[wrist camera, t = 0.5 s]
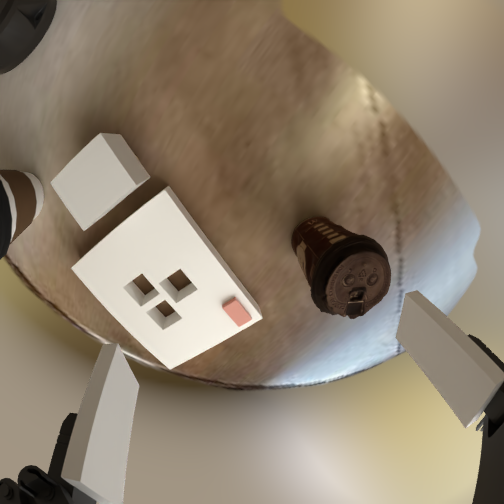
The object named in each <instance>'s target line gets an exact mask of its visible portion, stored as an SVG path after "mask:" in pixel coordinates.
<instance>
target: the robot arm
mask: <svg viewBox="0 0 504 504" xmlns="http://www.w3.org/2000/svg"><path fill="white" fill-rule="evenodd" d="M55 10H56V0H0V74H3V73H6V72H8V71H10V70H12V69H13V68H15V67H16V66H18V65H19V64H20V63H21V62H22V61H23V60H24V59H25V58H27V56H28V55H29V54H30V53H31V52H32V51H33V50H34V49H35V47H36V46H37V45H38V43H39V42H40V41H41V39H42V38H43V36H44V35H45V33H46V31H47V30H48V28H49V26H50V24H51V22H52V19H53V16H54V13H55ZM396 339H397V340H398V341H399V342H400V344H401V345H402V346H403V347H404V349H405V350H406V351H407V352H408V353H409V355H410V356H411V357H412V358H413V359H414V361H415V362H416V363H417V365H418V366H419V367H420V368H421V370H422V371H423V372H424V373H425V375H426V376H427V377H428V378H429V380H430V381H431V382H432V384H433V385H434V386H435V388H436V389H437V390H438V392H439V393H440V394H441V396H442V397H443V398H444V400H445V401H446V402H447V403H448V405H449V406H450V408H451V409H452V410H453V412H454V413H455V414H456V416H457V417H458V418H459V420H460V421H461V423H462V424H463V426H464V427H465V428H466V427H468V426H469V425H471V424H472V423H473V422H475V421H476V420H477V419H478V418H479V417H480V415H481V414H482V413H483V411H484V412H485V414H486V415H485V417H484V418H483V419H482V420H481V421H480V423H479V424H478V425H477V427H476V431H478V430H479V428H480V427H481V426H482V425H483V427H482V429H481V431H483V437H482V450H481V458H480V466H479V472H478V479H477V484H476V489H475V494H474V498H473V503H472V504H504V363H503V362H502V361H501V360H500V359H499V358H498V357H497V356H496V355H495V354H494V353H492V351H491V350H490V349H489V348H487V347H486V345H485V344H484V343H482V342H481V340H479V339H478V338H476V337H474V336H472V335H470V334H469V335H466V334H465V333H464V332H463V331H462V330H461V329H460V328H459V327H458V326H456V324H454V323H453V322H452V321H451V320H450V319H449V318H448V317H447V316H446V315H445V314H444V313H443V312H441V311H440V310H439V309H438V308H437V307H436V306H435V305H434V304H432V303H431V302H430V301H429V300H428V299H427V298H426V297H424V296H423V295H422V294H421V293H420V292H419V291H417V290H416V291H413V292H409V293H406V294H405V298H404V303H403V308H402V313H401V317H400V322H399V326H398V330H397V334H396ZM138 389H139V384H138V382H137V380H136V379H135V377H134V375H133V373H132V371H131V369H130V367H129V365H128V363H127V361H126V359H125V357H124V355H123V353H122V351H121V348H120V346H119V344H118V343H117V344H103V346H102V349H101V351H100V354H99V356H98V359H97V361H96V364H95V366H94V369H93V372H92V375H91V377H90V380H89V382H88V385H87V388H86V391H85V394H84V397H83V400H82V403H81V406H80V409H79V412H78V414H76V413H70V414H69V415H68V416H67V417H66V419H65V420H64V421H63V423H62V426H61V429H60V435H59V436H58V439H57V444H56V445H55V449H54V452H53V456H52V459H51V464H50V467H49V471H48V474H46V473H45V472H44V471H42V470H41V469H40V468H38V467H37V466H32V465H30V466H26V467H24V468H23V469H22V470H21V471H20V473H19V475H18V484H17V483H16V482H14V481H13V480H11V479H10V478H4V479H1V480H0V504H96V501H97V502H99V503H100V504H123V496H124V484H125V475H126V466H127V457H128V450H129V442H130V436H131V429H132V423H133V417H134V411H135V405H136V400H137V394H138Z"/></svg>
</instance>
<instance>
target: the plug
mask: <svg viewBox="0 0 504 504" xmlns="http://www.w3.org/2000/svg"><path fill="white" fill-rule="evenodd" d="M149 178H150V176H149V174H148V173H147V171H146V170H145V169H144V167H143V166H142V164H141V163H140V162H139V158H138V157H137V156H136V155H135V154H134V153H133V152H132V150H131V149H130V147H129V146H128V144H127V143H126V141H125V140H124V139H123V137H122V136H121V134H109V133H99V134H98V135H97V136H96V137H95V138H94V139H93V140H92V141H91V142H90V143H89V144H87V145H86V146H85V147H84V148H83V149H82V150H81V151H80V152H79V153H78V154H77V155H76V156H75V157H74V158H73V159H72V160H71V161H70V162H69V163H68V164H67V165H66V166H65V167H64V168H63V170H62V171H61V172H60V173H59V174H58V175H57V176H56V177H55V178H54V179H53V180H52V182H51V185H52V186H53V188H54V189H55V191H56V192H57V194H58V195H59V197H60V198H61V200H62V201H63V203H64V204H65V206H66V207H67V209H68V210H69V211H70V213H71V214H72V216H73V217H74V218H75V220H76V221H77V223H78V224H79V225H80V227H81V228H82V229H83V231H85V230H86V229H87V228H89V227H90V226H91V225H92V224H94V223H95V222H96V221H98V220H99V219H100V218H102V217H103V216H104V215H106V214H107V213H108V212H109V211H110V210H111V209H113V208H114V207H115V206H116V205H117V204H119V203H120V202H121V201H122V200H123V199H124V198H125V197H127V196H128V195H129V194H130V193H132V192H133V191H134V190H135V189H136V188H138V187H139V186H140V185H141V184H143V183H144V182H145V181H147V180H148V179H149Z"/></svg>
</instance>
